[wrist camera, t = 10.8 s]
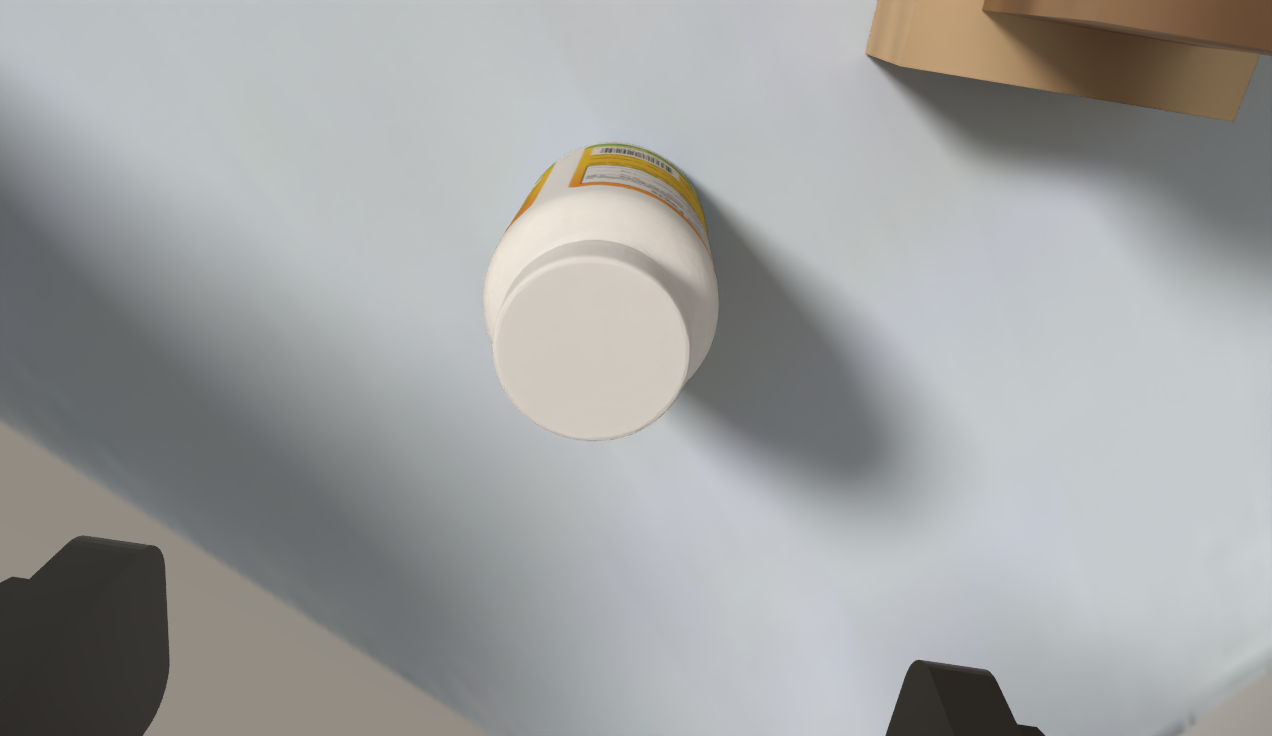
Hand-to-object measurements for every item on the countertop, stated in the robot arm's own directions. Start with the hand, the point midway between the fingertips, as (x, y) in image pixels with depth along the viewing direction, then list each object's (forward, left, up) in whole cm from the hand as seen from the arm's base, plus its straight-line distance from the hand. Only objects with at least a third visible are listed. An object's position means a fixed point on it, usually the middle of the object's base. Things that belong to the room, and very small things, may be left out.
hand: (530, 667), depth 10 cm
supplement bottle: (0, 0, -19) cm, 19 cm away
